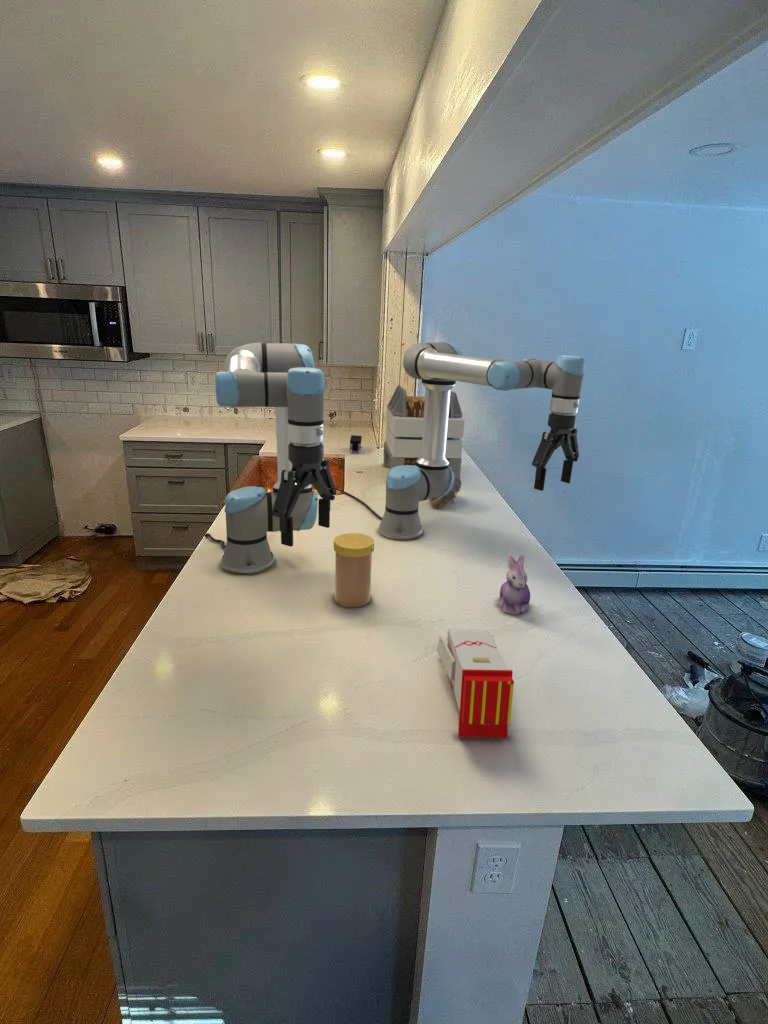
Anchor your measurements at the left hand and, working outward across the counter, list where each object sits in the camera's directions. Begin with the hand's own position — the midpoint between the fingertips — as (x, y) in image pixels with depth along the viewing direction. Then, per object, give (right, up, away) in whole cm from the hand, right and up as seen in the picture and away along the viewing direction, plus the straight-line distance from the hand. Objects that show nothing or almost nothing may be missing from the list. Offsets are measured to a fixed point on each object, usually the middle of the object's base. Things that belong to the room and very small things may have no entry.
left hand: (306, 535), depth 128 cm
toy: (+35, -32, -9) cm, 49 cm away
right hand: (+67, +13, +38) cm, 78 cm away
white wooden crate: (+35, +24, +147) cm, 153 cm away
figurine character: (+2, +39, +183) cm, 187 cm away
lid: (+10, -3, +21) cm, 23 cm away
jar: (+9, -18, +26) cm, 33 cm away
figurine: (+53, -20, +26) cm, 62 cm away
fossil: (+42, +10, +108) cm, 116 cm away
